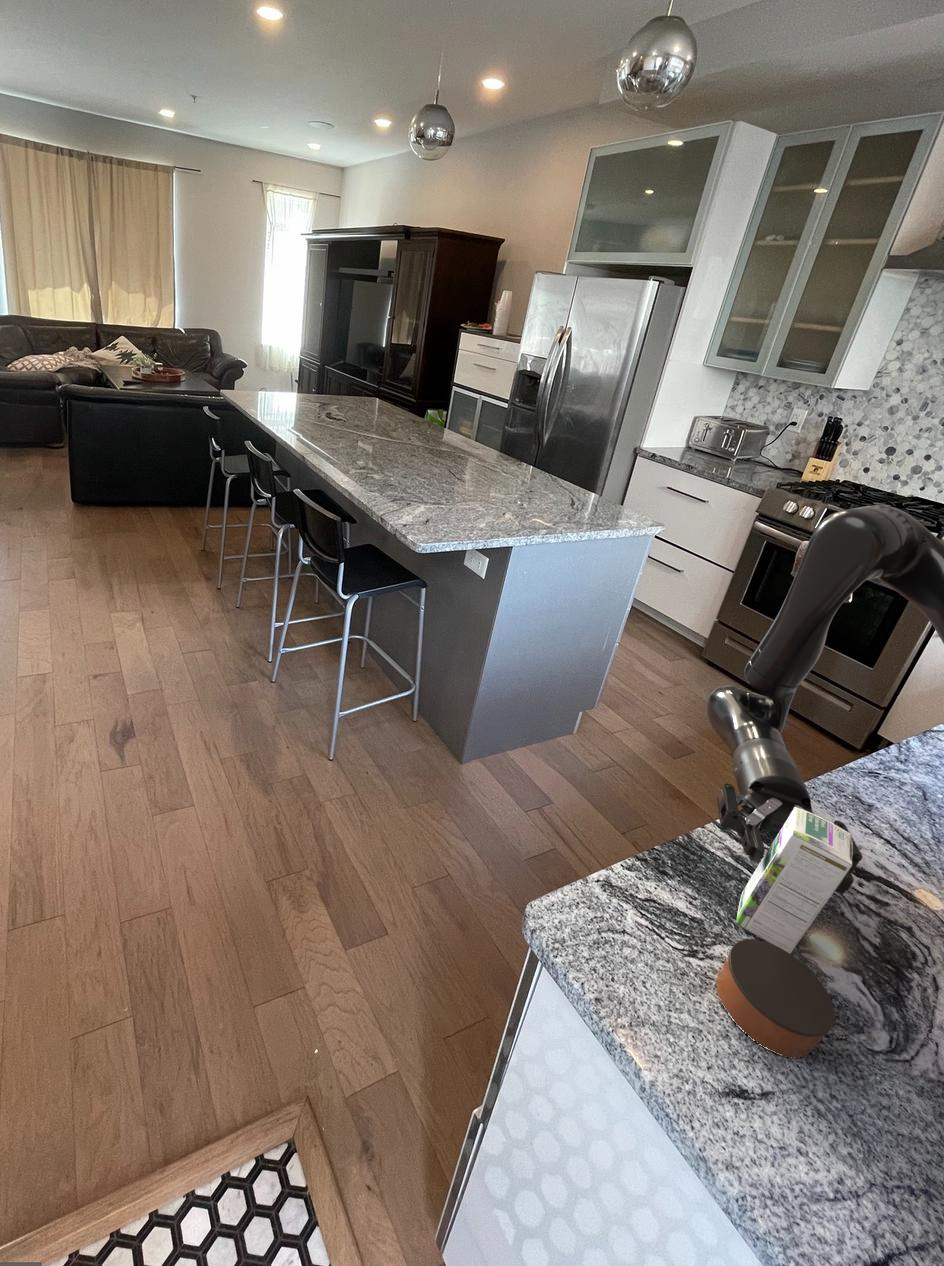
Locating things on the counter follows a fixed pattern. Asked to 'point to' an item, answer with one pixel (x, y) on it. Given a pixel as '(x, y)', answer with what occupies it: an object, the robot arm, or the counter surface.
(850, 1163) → the counter surface
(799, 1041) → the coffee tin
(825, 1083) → the counter surface
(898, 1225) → the counter surface
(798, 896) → the syrup box
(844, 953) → the counter surface
